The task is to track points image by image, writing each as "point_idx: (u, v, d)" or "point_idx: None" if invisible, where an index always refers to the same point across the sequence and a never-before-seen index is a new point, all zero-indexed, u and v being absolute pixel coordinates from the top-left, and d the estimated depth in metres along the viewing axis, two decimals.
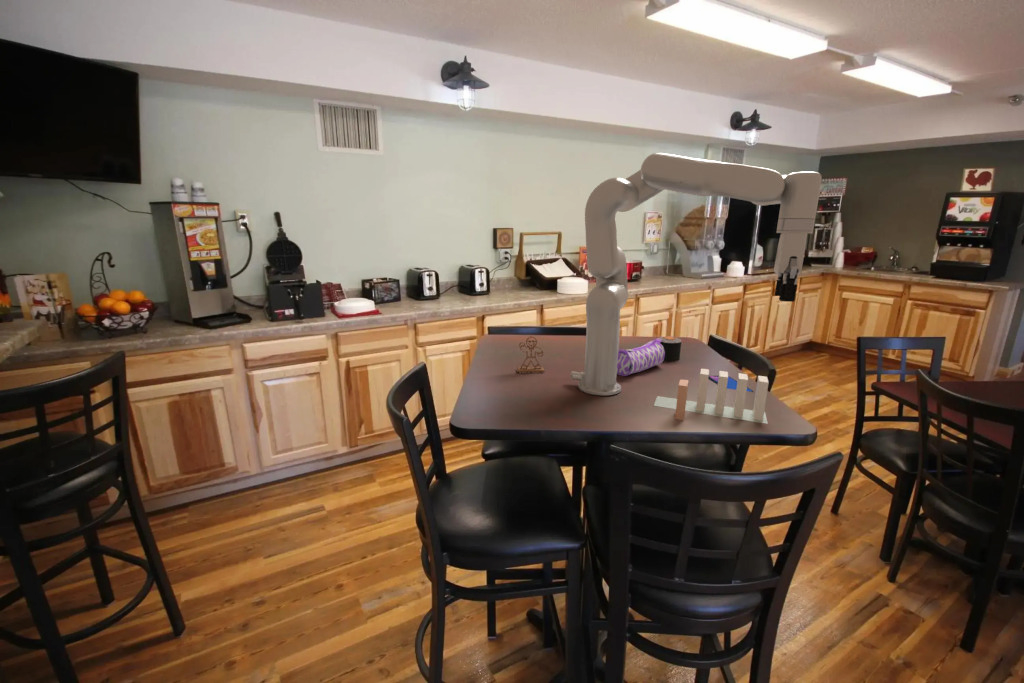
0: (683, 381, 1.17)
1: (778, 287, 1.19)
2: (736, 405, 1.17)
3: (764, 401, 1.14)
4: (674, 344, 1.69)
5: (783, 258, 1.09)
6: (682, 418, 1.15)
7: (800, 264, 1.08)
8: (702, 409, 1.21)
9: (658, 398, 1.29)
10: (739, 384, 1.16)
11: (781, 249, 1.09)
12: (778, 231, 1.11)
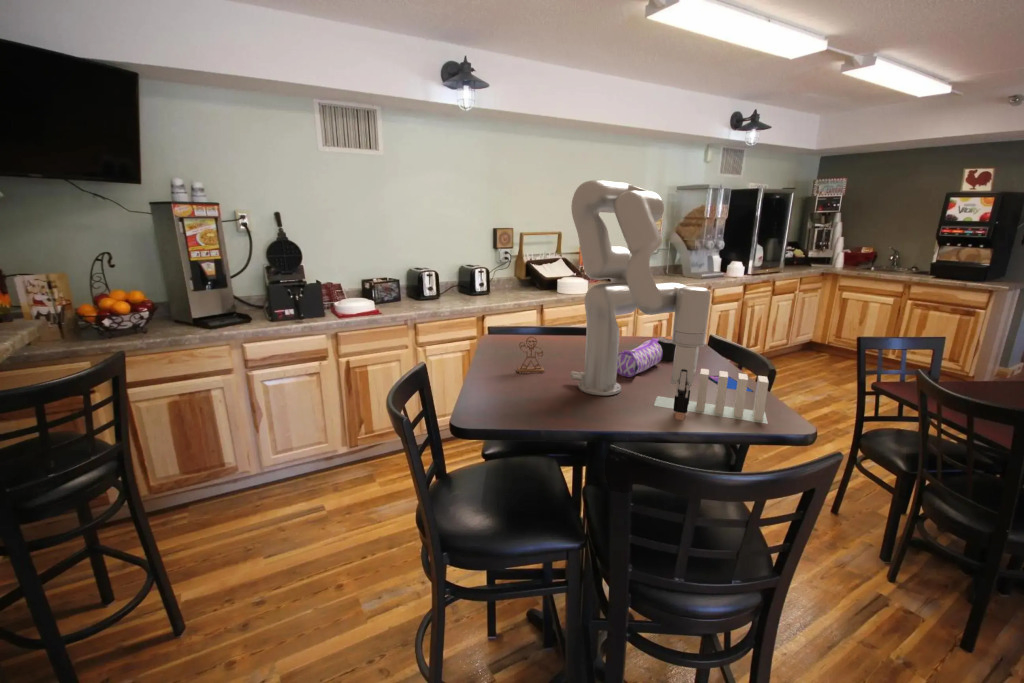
0: None
1: None
2: (736, 405, 1.17)
3: (764, 401, 1.14)
4: (674, 344, 1.69)
5: (675, 370, 1.11)
6: (682, 418, 1.15)
7: (690, 377, 1.10)
8: (702, 409, 1.21)
9: (658, 398, 1.29)
10: (739, 384, 1.16)
11: (674, 360, 1.12)
12: (672, 341, 1.13)
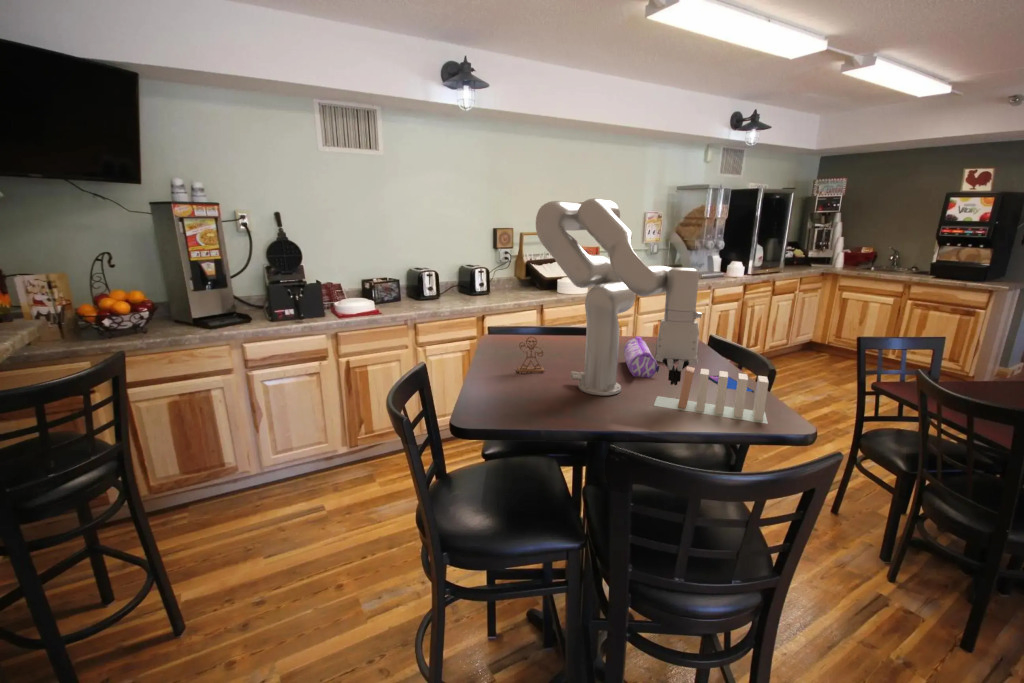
0: (690, 368, 1.23)
1: (675, 374, 1.25)
2: (736, 405, 1.17)
3: (764, 401, 1.14)
4: None
5: None
6: (685, 403, 1.22)
7: None
8: (702, 409, 1.21)
9: (658, 398, 1.29)
10: (739, 384, 1.16)
11: None
12: None
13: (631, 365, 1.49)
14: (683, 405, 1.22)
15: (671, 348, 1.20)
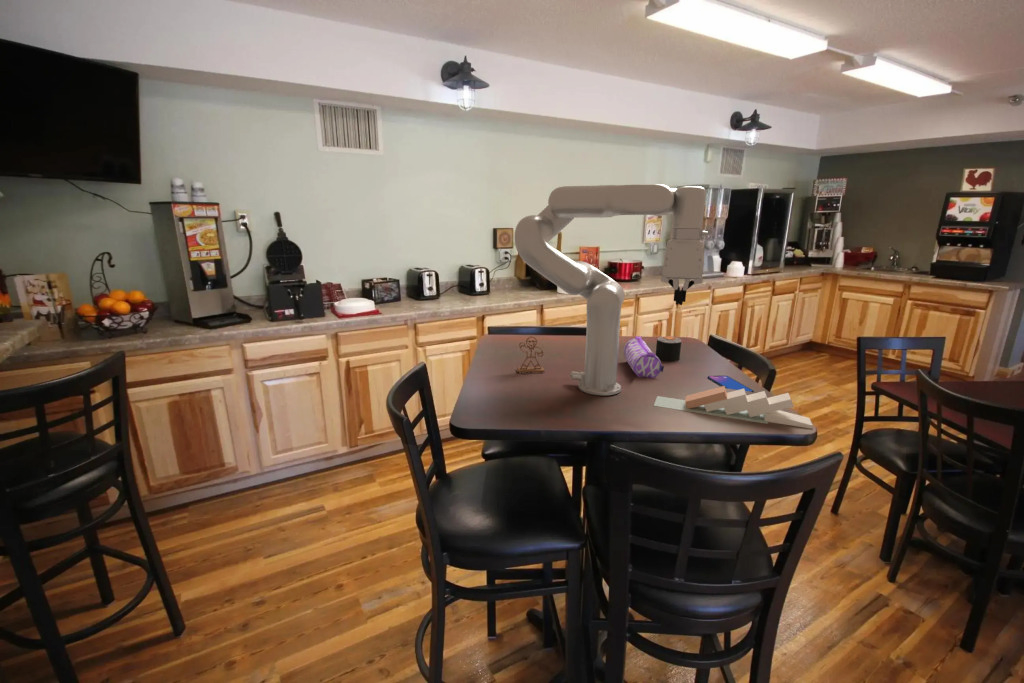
0: (725, 390, 1.21)
1: None
2: (759, 407, 1.15)
3: None
4: (674, 344, 1.69)
5: None
6: (693, 406, 1.21)
7: (663, 267, 1.25)
8: (708, 409, 1.20)
9: (658, 398, 1.29)
10: (784, 401, 1.12)
11: None
12: None
13: (636, 365, 1.49)
14: (689, 405, 1.22)
15: (677, 267, 1.23)
